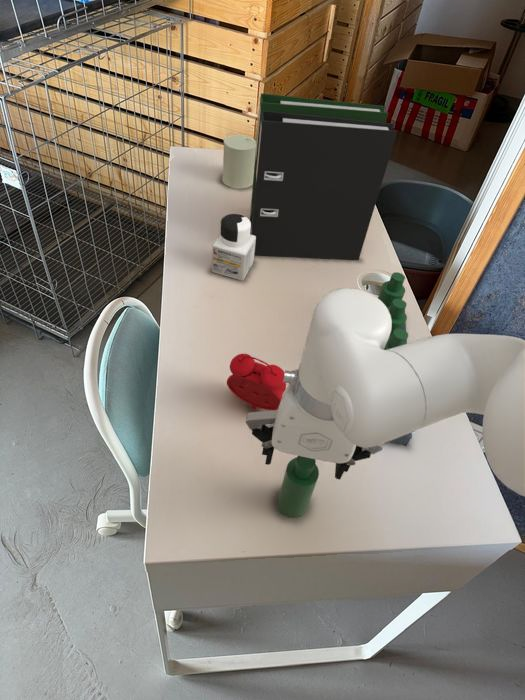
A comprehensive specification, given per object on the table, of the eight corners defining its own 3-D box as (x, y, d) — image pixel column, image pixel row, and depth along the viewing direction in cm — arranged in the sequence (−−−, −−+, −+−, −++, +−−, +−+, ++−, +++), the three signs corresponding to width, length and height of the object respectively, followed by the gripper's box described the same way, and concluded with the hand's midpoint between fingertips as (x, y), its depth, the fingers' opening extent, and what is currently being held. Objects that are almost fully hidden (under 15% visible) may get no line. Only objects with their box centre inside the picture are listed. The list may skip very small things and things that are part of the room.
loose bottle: (305, 520, 73) (321, 479, 63) (275, 514, 74) (287, 472, 64) (308, 493, 77) (324, 449, 67) (279, 487, 77) (291, 442, 67)
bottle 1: (390, 335, 102) (410, 285, 92) (368, 331, 102) (386, 281, 92) (389, 320, 105) (409, 271, 95) (368, 316, 105) (386, 267, 95)
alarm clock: (287, 404, 88) (299, 349, 77) (274, 430, 84) (285, 376, 73) (236, 383, 90) (241, 327, 79) (221, 407, 86) (224, 352, 75)
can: (259, 184, 140) (263, 143, 131) (233, 191, 136) (236, 150, 127) (241, 170, 145) (244, 130, 136) (215, 177, 141) (217, 136, 132)
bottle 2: (390, 362, 96) (412, 313, 86) (367, 358, 96) (387, 309, 87) (390, 346, 99) (411, 297, 89) (368, 342, 100) (387, 292, 90)
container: (211, 272, 111) (212, 224, 102) (223, 254, 116) (225, 206, 107) (242, 281, 110) (247, 233, 100) (253, 262, 115) (258, 215, 106)
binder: (350, 229, 129) (384, 104, 105) (359, 264, 119) (398, 134, 95) (249, 222, 126) (260, 93, 103) (249, 257, 116) (262, 122, 93)
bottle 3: (391, 394, 91) (414, 345, 81) (367, 389, 91) (387, 340, 81) (390, 375, 94) (413, 326, 84) (367, 371, 94) (387, 322, 84)
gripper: (246, 399, 51) (236, 474, 64) (407, 431, 51) (364, 500, 63) (258, 348, 56) (247, 427, 69) (405, 377, 56) (366, 451, 68)
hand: (303, 462), depth 66 cm, fingers open, 9 cm apart
